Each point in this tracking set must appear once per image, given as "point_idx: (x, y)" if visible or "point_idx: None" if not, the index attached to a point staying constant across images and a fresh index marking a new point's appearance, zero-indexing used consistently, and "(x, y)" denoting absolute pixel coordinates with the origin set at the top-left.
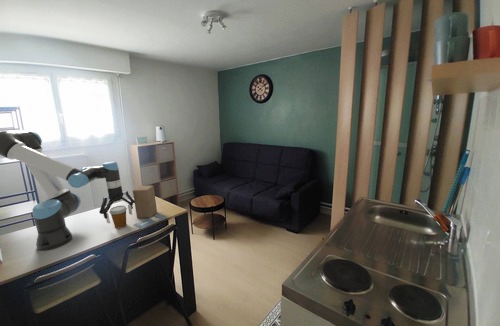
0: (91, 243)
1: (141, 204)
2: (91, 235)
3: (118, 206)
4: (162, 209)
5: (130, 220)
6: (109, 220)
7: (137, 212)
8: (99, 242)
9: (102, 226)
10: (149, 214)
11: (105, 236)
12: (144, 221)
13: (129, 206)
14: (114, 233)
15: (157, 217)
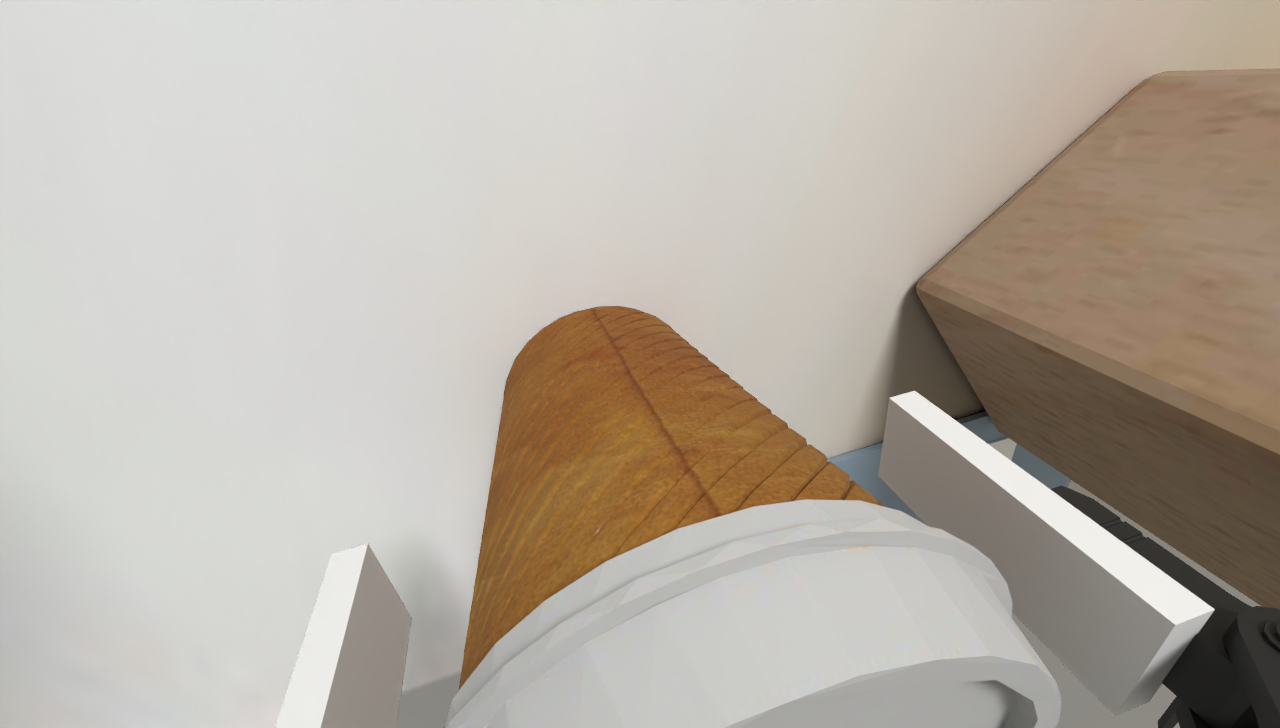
0: (107, 707)
1: (1278, 556)
2: (6, 473)
3: (925, 655)
4: None
5: (799, 295)
6: (395, 693)
7: (1019, 358)
8: (240, 715)
9: (222, 147)
10: (1037, 456)
11: None
12: (880, 487)
13: (1086, 653)
14: (459, 588)
15: (1023, 468)
